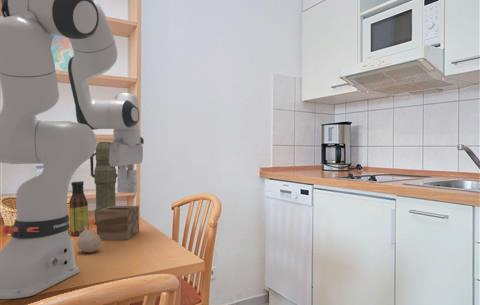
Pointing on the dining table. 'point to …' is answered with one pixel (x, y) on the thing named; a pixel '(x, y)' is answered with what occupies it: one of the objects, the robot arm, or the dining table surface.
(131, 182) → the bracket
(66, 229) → the robot arm
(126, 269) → the dining table surface
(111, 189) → the thermos
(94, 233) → the garlic bulb
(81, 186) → the sauce bottle
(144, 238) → the dining table surface
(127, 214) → the striped wooden crate
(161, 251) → the dining table surface
